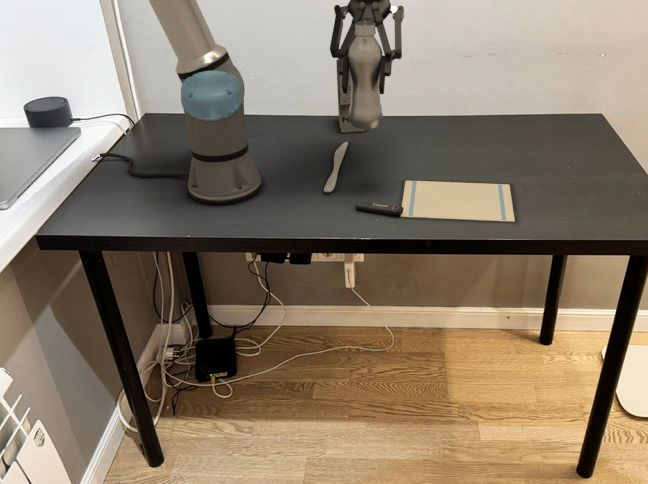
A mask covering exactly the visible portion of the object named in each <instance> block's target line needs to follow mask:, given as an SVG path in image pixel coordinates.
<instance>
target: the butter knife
mask: <svg viewBox="0 0 648 484" xmlns="http://www.w3.org/2000/svg"><path fill="white" fill-rule="evenodd" d="M348 145H349V141H344V142H343V143H342V144H341V145H340V146H338V148H337V149H336V150H335V152H334V156H333V170H332V172H331V174H330V176H329V177H328V179H327V181H326V183H325V186H324V188H323V192H325V193H331V192H333V191H334V189H335V187H336V184H337V181H338V173H339V170H340V167H341V164H342V162H343V160H344V156H345V154H346V152H347V148H348Z"/></svg>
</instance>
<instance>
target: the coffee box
mask: <svg viewBox="0 0 648 484" xmlns="http://www.w3.org/2000/svg"><path fill="white" fill-rule="evenodd" d="M338 60H339V59H338V58H337V59H336V60H335V61H336V62H335V63H336V64H335V65H336V84H337V85H336V86H337V87H336V88H337V110H338V124H339V129H340V133H341V134H345V133H361V132H365V131H366V129H358V128H355V127H354V126H353V125H352V124H351V122H350V118H349V109H350V104H351V90H352V86H351V82H352V81H351V72H350V68H349V80H348V91H347V93H343V90H342V77H343V75H339V72H338Z"/></svg>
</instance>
